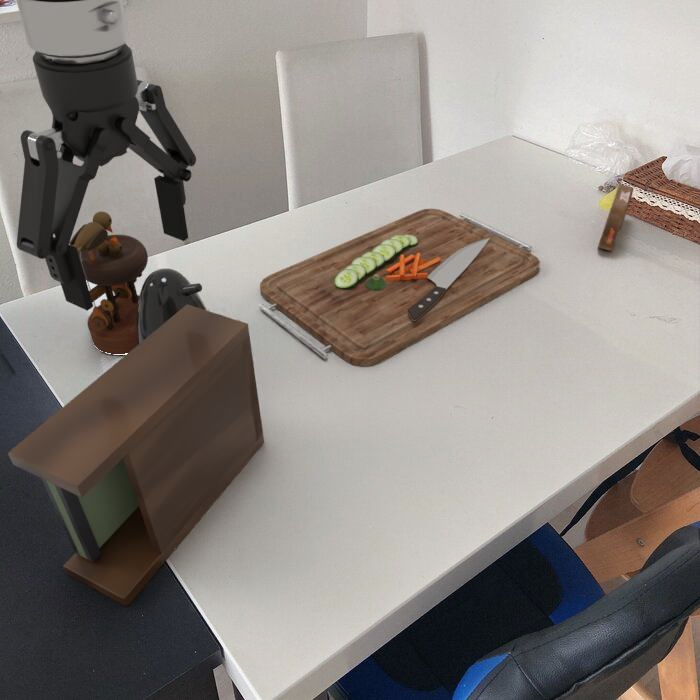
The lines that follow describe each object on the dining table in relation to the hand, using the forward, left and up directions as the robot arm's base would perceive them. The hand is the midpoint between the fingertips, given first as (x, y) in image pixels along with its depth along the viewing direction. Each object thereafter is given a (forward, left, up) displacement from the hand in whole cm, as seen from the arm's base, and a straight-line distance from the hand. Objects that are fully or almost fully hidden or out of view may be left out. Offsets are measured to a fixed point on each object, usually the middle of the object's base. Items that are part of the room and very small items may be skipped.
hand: (131, 267), depth 68 cm
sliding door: (+4, -13, -23) cm, 26 cm away
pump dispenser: (-8, +12, -25) cm, 28 cm away
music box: (-20, +15, -25) cm, 35 cm away
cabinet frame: (+6, -8, -24) cm, 27 cm away
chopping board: (+11, +45, -25) cm, 52 cm away
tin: (+38, +73, -25) cm, 86 cm away
